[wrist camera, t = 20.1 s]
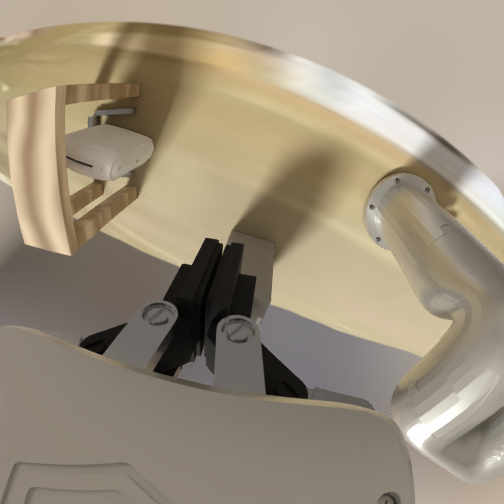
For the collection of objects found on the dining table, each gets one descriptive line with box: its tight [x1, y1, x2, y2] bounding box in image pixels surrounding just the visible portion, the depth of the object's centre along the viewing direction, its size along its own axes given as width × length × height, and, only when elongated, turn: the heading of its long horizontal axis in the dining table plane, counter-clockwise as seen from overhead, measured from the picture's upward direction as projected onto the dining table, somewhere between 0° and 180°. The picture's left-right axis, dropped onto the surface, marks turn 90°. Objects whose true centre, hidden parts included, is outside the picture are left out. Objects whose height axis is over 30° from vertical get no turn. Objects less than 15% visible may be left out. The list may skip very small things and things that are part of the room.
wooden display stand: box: [7, 83, 141, 256], centre depth 28 cm, size 9×18×18 cm, turn 173°
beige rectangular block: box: [227, 230, 274, 327], centre depth 36 cm, size 7×7×18 cm
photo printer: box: [65, 124, 154, 181], centre depth 30 cm, size 10×4×12 cm, turn 67°
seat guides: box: [88, 108, 136, 177], centre depth 35 cm, size 8×11×2 cm
